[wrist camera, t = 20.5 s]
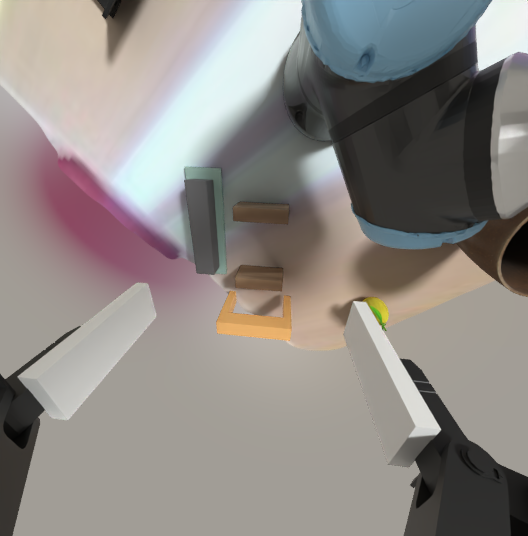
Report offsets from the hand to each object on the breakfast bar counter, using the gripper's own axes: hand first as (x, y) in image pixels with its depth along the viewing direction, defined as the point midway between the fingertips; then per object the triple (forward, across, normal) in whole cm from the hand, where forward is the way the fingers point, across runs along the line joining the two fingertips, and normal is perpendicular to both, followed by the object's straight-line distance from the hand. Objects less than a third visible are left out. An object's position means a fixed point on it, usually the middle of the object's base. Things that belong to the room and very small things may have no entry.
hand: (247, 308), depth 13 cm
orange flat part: (+29, -2, -20) cm, 36 cm away
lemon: (+32, +24, -20) cm, 45 cm away
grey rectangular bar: (+31, -14, -4) cm, 34 cm away
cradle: (+32, -2, -7) cm, 33 cm away
